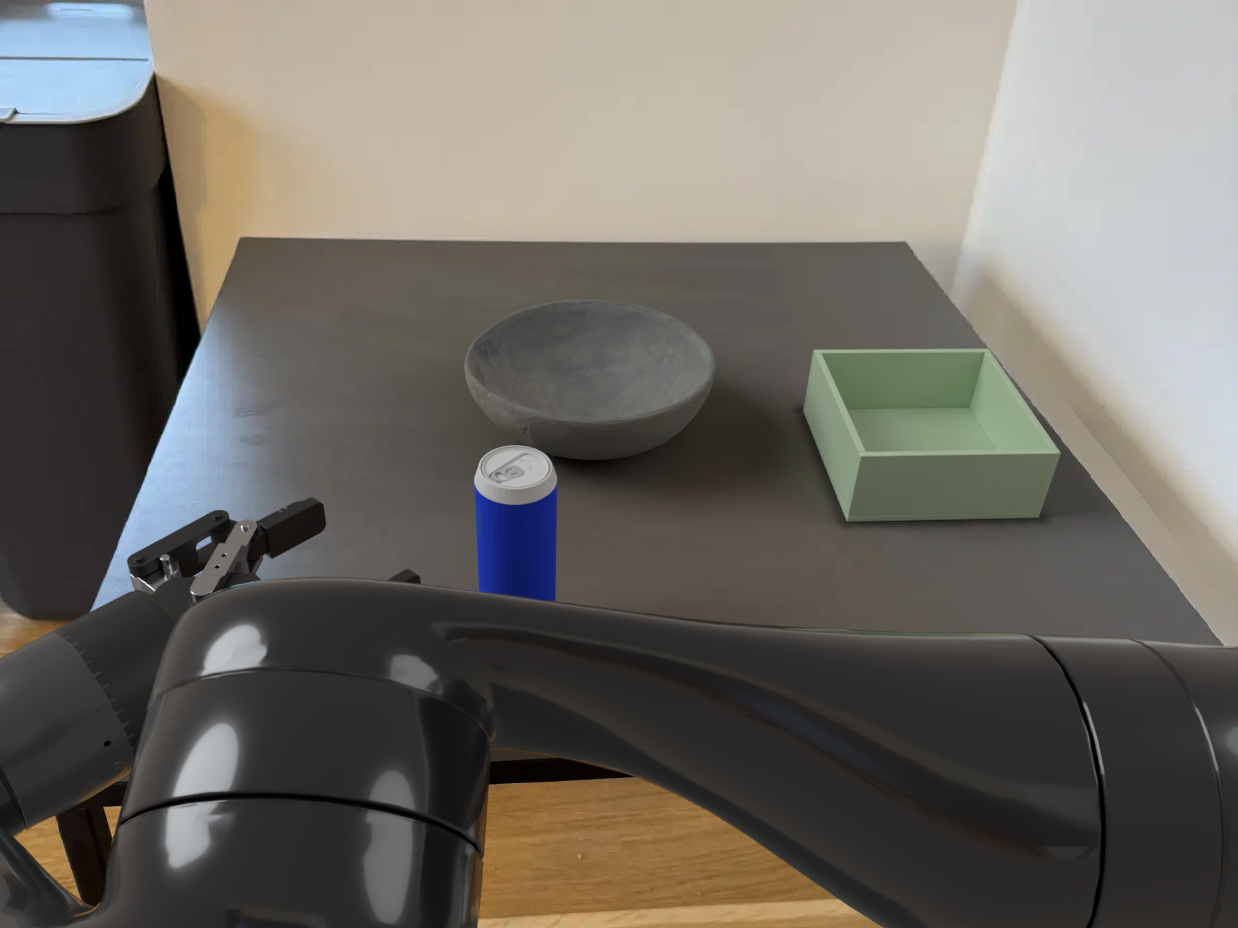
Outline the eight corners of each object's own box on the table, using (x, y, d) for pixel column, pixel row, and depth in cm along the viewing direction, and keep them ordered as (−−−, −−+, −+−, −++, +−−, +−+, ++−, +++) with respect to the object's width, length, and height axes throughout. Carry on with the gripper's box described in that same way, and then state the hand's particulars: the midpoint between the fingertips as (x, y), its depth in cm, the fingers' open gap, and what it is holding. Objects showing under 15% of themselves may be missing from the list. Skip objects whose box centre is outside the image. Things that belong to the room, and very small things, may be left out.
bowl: (525, 529, 87) (524, 446, 82) (434, 397, 101) (429, 320, 97) (751, 464, 95) (762, 386, 90) (637, 351, 110) (641, 278, 105)
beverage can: (524, 603, 80) (522, 433, 71) (570, 642, 77) (574, 469, 68) (466, 636, 77) (456, 462, 68) (511, 678, 74) (508, 502, 65)
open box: (1038, 518, 91) (1061, 453, 87) (846, 522, 89) (860, 456, 85) (971, 409, 104) (988, 348, 100) (803, 411, 102) (813, 349, 98)
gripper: (147, 738, 45) (449, 555, 55) (-8, 572, 53) (283, 437, 63) (181, 848, 50) (455, 660, 60) (33, 680, 57) (299, 538, 67)
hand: (367, 546), depth 61 cm, fingers open, 8 cm apart
